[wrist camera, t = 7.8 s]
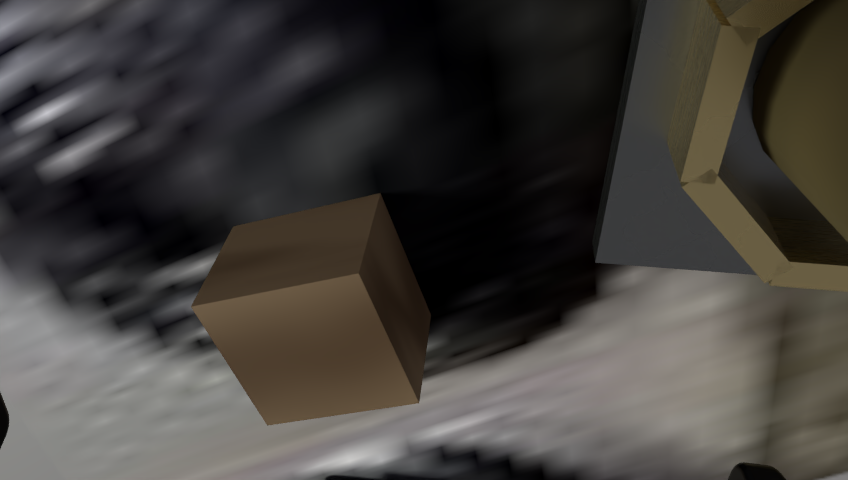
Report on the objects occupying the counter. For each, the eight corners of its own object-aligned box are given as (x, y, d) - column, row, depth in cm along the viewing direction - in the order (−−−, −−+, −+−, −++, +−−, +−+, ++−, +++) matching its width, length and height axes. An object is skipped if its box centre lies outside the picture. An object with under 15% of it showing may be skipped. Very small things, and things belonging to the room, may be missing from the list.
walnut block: (431, 312, 25) (419, 402, 22) (297, 336, 27) (267, 425, 23) (381, 190, 23) (358, 273, 19) (234, 224, 24) (191, 306, 21)
